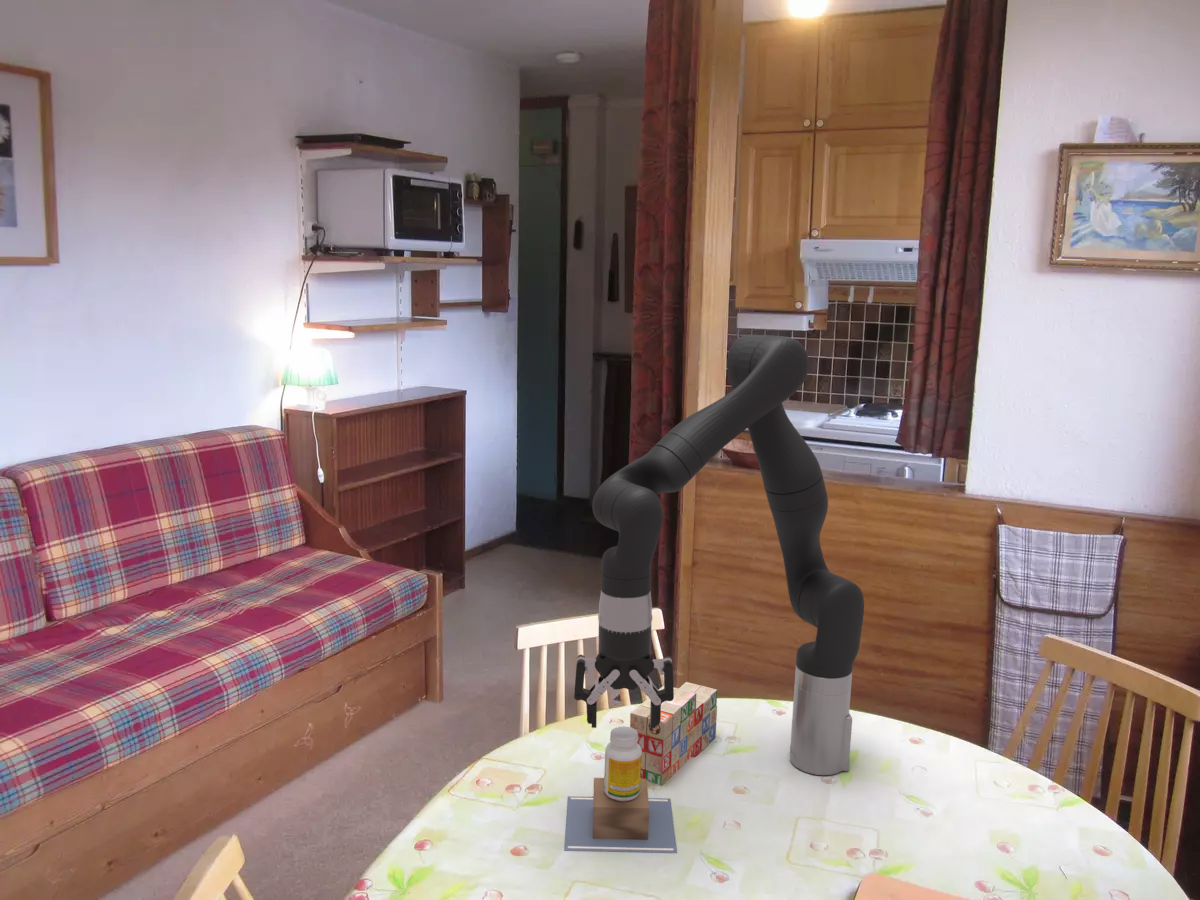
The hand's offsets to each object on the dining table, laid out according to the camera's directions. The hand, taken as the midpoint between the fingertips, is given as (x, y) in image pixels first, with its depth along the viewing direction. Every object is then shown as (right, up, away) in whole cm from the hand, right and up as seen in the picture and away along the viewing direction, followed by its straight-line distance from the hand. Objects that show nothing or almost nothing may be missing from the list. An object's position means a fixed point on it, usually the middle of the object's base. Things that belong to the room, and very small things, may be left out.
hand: (623, 725), depth 139 cm
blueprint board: (0, -16, +3) cm, 17 cm away
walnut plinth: (0, -15, +3) cm, 16 cm away
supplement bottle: (0, -11, +2) cm, 11 cm away
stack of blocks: (+9, -13, +24) cm, 29 cm away
